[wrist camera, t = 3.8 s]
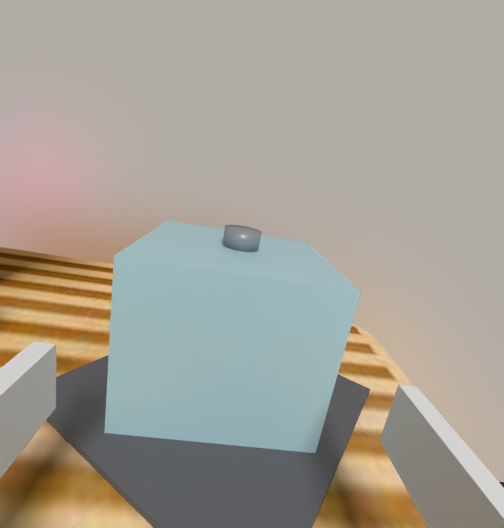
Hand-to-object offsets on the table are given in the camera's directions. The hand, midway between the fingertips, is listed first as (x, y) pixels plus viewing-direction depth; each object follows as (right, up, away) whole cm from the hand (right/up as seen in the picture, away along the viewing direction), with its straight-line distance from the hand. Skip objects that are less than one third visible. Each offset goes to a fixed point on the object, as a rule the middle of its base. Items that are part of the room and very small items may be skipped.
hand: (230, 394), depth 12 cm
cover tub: (-2, -3, +11) cm, 12 cm away
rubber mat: (-1, -4, +10) cm, 11 cm away
